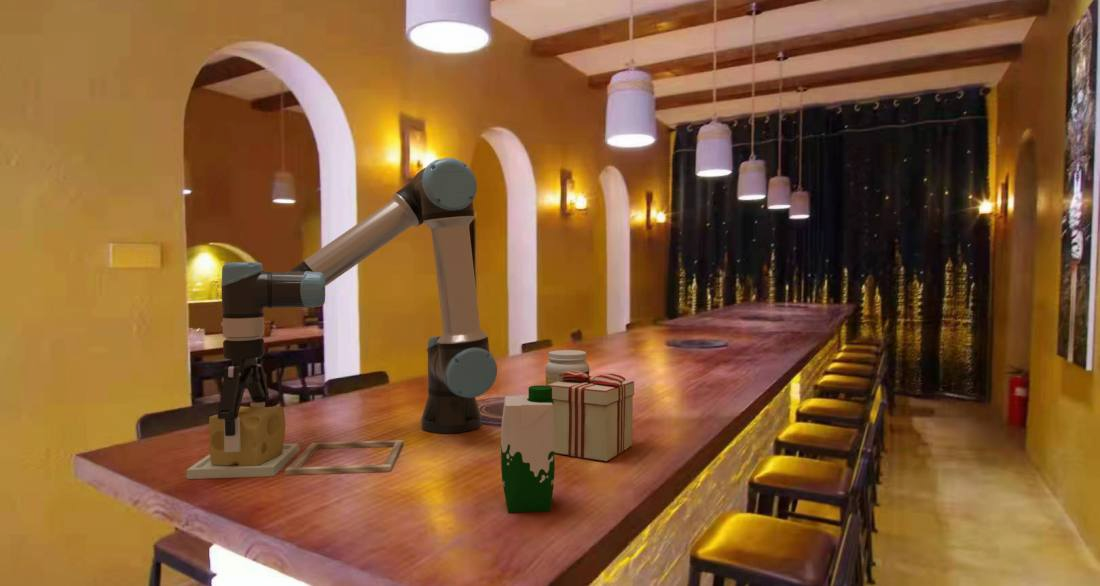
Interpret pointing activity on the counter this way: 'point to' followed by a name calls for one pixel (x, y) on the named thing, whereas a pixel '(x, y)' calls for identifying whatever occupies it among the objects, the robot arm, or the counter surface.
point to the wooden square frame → (298, 470)
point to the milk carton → (528, 450)
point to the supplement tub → (565, 364)
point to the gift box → (592, 415)
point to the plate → (232, 471)
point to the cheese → (249, 437)
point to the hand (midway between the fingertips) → (246, 441)
